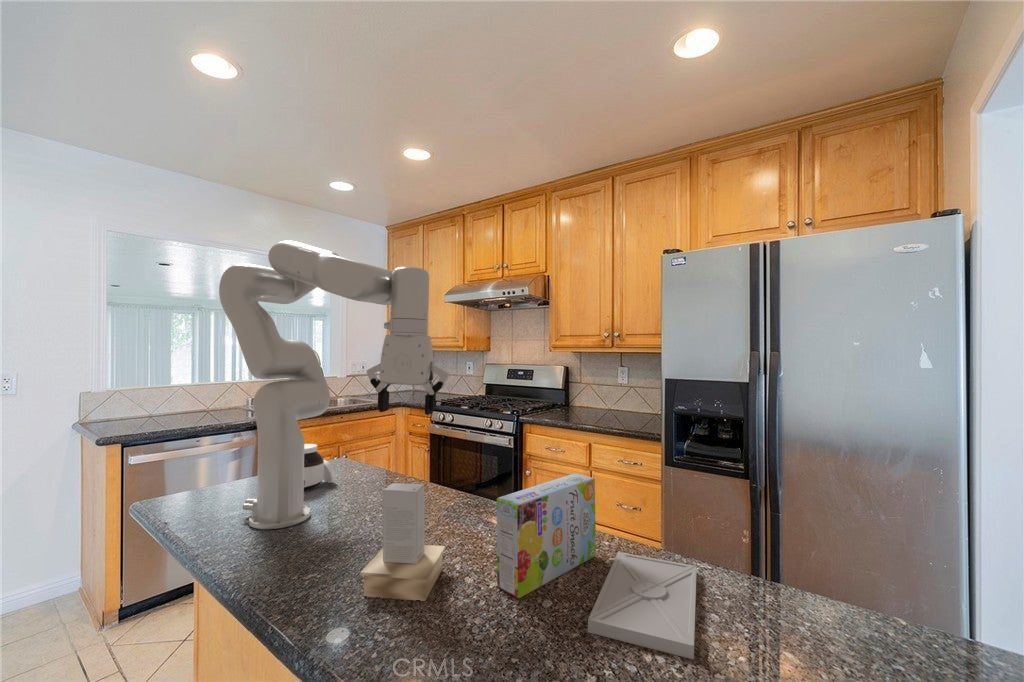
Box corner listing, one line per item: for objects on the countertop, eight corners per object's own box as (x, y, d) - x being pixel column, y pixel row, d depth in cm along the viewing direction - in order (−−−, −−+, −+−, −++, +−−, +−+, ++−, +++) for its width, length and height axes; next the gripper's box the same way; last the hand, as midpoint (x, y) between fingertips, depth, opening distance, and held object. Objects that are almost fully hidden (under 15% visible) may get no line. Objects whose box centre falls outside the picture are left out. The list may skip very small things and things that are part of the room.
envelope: (696, 577, 79) (618, 562, 84) (696, 564, 79) (618, 550, 84) (693, 661, 57) (587, 634, 62) (693, 643, 57) (587, 617, 62)
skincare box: (425, 553, 77) (425, 483, 77) (417, 565, 73) (417, 491, 73) (391, 551, 78) (392, 482, 78) (381, 562, 74) (382, 489, 74)
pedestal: (360, 597, 70) (360, 572, 70) (387, 564, 81) (387, 542, 81) (426, 602, 69) (426, 576, 69) (445, 568, 80) (445, 546, 80)
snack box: (573, 547, 89) (573, 471, 89) (597, 557, 85) (597, 477, 85) (494, 587, 74) (495, 495, 74) (518, 601, 70) (519, 504, 70)
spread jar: (278, 491, 122) (278, 448, 123) (303, 479, 134) (304, 440, 134) (318, 493, 120) (318, 450, 121) (340, 481, 132) (341, 441, 132)
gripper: (360, 326, 89) (357, 413, 89) (444, 329, 86) (441, 417, 86) (377, 328, 96) (374, 407, 96) (455, 330, 93) (452, 412, 93)
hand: (406, 412), depth 91 cm, fingers open, 9 cm apart
